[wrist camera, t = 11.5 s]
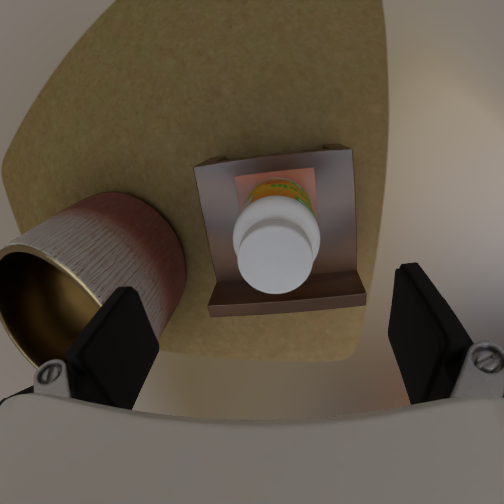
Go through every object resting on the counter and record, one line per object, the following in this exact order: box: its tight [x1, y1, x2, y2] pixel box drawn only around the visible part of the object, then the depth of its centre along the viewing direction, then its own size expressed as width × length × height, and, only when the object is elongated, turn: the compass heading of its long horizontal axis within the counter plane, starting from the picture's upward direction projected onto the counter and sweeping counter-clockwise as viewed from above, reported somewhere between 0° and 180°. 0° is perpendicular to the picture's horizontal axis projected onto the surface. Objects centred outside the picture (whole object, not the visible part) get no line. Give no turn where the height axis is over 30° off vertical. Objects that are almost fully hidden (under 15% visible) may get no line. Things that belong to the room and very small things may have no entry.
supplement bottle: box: [233, 178, 320, 294], centre depth 20 cm, size 5×5×10 cm
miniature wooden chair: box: [193, 143, 367, 317], centre depth 26 cm, size 12×13×10 cm
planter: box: [0, 192, 186, 370], centre depth 28 cm, size 18×18×16 cm
